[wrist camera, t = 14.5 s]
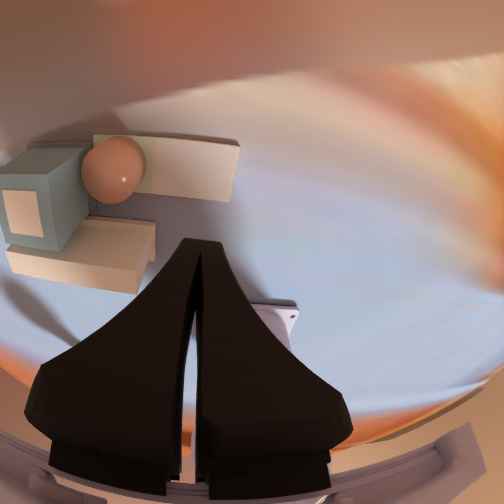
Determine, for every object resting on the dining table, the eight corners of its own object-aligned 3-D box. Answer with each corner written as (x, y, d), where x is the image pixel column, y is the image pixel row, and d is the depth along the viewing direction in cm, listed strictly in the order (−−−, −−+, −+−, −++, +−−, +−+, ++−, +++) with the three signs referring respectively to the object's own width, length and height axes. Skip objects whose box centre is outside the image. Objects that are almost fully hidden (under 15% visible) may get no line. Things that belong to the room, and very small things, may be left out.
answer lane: (230, 200, 19) (230, 202, 19) (95, 187, 18) (94, 189, 17) (240, 145, 17) (240, 147, 17) (94, 134, 15) (93, 135, 15)
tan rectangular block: (155, 257, 22) (142, 301, 17) (39, 242, 20) (12, 277, 15) (155, 222, 20) (138, 263, 16) (32, 210, 18) (1, 243, 14)
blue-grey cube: (89, 212, 18) (58, 252, 14) (38, 208, 17) (4, 243, 13) (86, 148, 15) (46, 175, 11) (31, 148, 14) (-11, 175, 10)
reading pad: (96, 205, 18) (93, 209, 18) (37, 201, 17) (34, 204, 17) (94, 141, 16) (91, 143, 15) (31, 143, 15) (27, 145, 14)
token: (130, 200, 18) (121, 214, 17) (86, 174, 17) (73, 185, 15) (156, 154, 17) (148, 163, 15) (108, 126, 15) (95, 132, 13)
